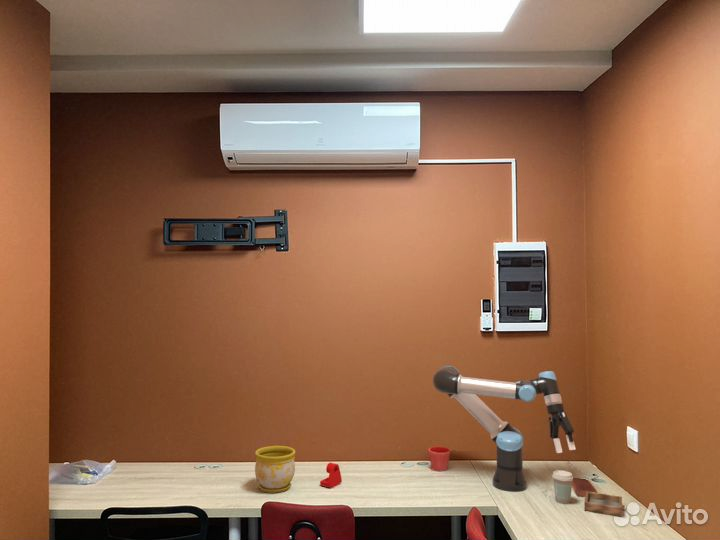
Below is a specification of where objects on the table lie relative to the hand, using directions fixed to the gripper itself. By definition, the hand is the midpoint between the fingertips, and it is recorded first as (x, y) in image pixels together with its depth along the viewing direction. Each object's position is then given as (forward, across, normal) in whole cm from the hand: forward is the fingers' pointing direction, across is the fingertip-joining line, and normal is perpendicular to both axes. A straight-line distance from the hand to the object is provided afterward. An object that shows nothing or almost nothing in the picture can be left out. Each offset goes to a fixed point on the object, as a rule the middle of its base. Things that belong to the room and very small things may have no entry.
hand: (565, 451), depth 251 cm
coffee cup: (+20, -6, +10) cm, 24 cm away
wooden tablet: (+17, +8, -8) cm, 20 cm away
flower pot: (0, +36, +51) cm, 62 cm away
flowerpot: (+1, +16, +133) cm, 134 cm away
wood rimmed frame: (+24, -14, -3) cm, 28 cm away
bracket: (+2, +18, +107) cm, 109 cm away
